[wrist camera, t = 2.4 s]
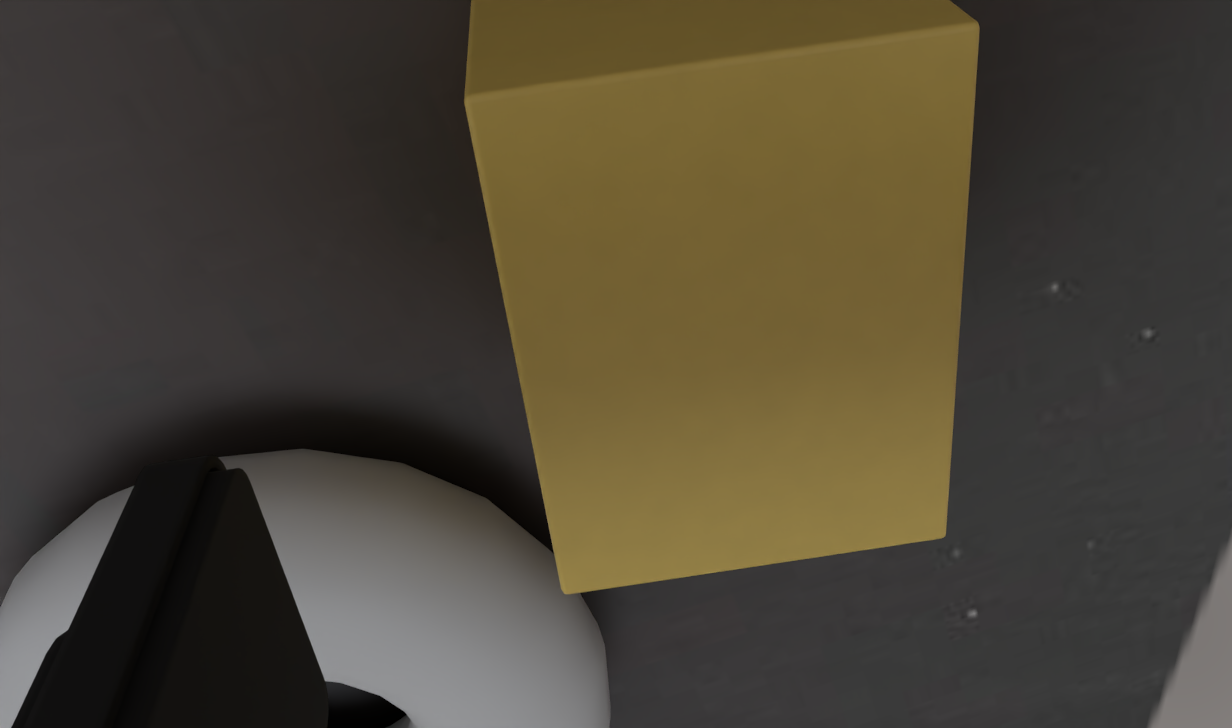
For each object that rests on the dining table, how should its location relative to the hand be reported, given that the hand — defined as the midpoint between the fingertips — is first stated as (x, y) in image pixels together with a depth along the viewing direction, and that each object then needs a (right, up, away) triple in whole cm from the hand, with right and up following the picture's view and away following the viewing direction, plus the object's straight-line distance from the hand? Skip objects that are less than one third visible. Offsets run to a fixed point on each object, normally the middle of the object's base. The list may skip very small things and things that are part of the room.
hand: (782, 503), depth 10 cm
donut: (-7, -3, +10) cm, 12 cm away
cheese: (-1, +4, +5) cm, 7 cm away
